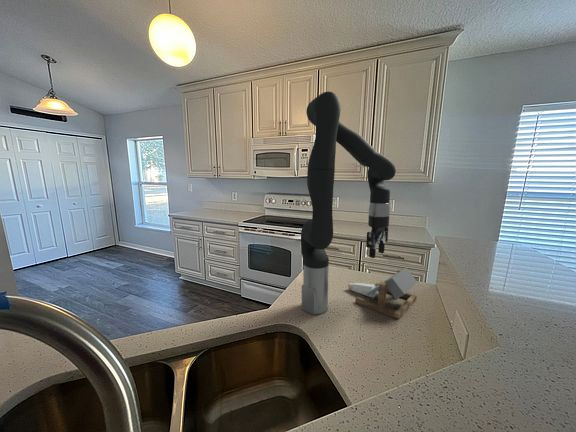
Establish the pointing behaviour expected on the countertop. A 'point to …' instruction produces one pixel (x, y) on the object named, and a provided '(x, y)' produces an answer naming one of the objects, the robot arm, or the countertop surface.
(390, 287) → the trapdoor
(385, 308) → the wooden frame stand
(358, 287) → the pepper shaker
